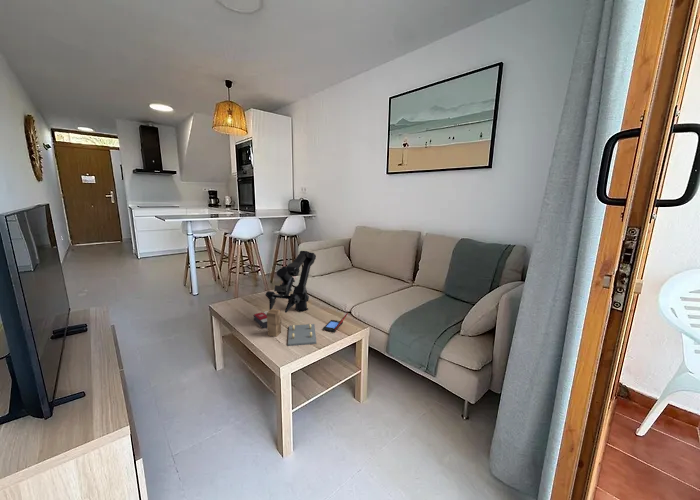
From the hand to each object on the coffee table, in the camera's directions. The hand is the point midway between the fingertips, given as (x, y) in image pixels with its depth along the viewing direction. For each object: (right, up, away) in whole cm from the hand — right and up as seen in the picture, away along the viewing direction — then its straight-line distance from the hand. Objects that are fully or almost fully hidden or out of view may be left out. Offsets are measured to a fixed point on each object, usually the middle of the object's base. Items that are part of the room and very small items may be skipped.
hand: (277, 311), depth 156 cm
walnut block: (-1, -12, -2) cm, 12 cm away
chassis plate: (+14, -12, -3) cm, 18 cm away
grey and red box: (-9, -9, +13) cm, 19 cm away
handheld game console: (+31, -11, +7) cm, 33 cm away
